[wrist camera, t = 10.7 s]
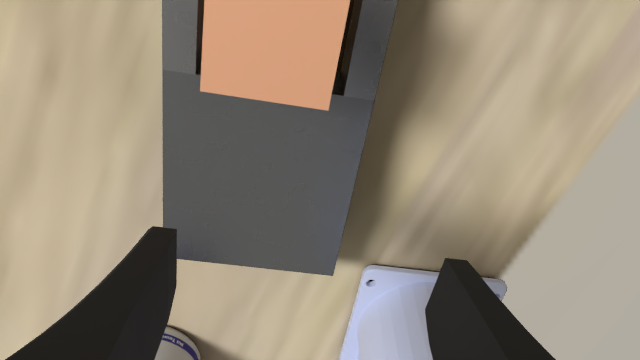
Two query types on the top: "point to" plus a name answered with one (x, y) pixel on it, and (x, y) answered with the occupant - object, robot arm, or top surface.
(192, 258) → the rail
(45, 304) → the top surface
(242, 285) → the top surface
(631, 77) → the top surface
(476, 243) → the top surface
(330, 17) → the square block
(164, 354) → the energy drink
